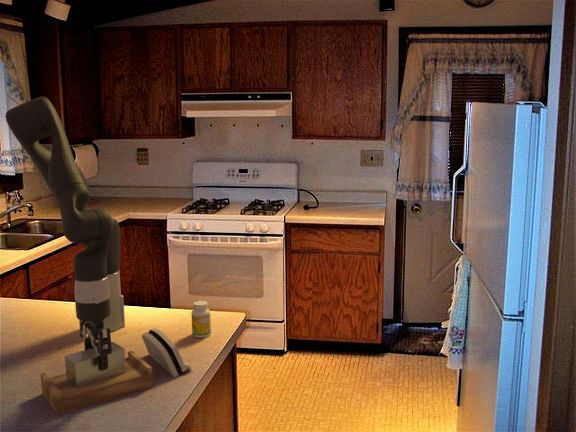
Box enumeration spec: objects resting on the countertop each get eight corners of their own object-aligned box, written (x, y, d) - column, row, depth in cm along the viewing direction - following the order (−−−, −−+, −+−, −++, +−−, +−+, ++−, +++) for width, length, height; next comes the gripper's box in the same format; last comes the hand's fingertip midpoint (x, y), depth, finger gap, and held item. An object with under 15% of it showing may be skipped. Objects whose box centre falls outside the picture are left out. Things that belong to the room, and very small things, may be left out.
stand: (42, 393, 142) (40, 373, 141) (132, 369, 155) (131, 350, 154) (57, 415, 132) (55, 393, 131) (152, 387, 145) (151, 367, 144)
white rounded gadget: (193, 372, 153) (179, 339, 149) (176, 382, 151) (162, 349, 147) (166, 349, 167) (152, 319, 163) (150, 358, 165) (137, 328, 161)
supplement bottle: (213, 336, 176) (212, 304, 174) (194, 339, 174) (193, 307, 172) (208, 330, 181) (207, 298, 179) (190, 332, 179) (189, 301, 177)
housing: (66, 380, 141) (64, 355, 140) (114, 365, 149) (113, 341, 148) (76, 388, 137) (74, 363, 136) (125, 372, 145) (124, 348, 144)
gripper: (65, 291, 143) (70, 357, 146) (86, 308, 131) (91, 378, 134) (97, 285, 147) (101, 349, 150) (120, 301, 136) (124, 369, 139)
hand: (96, 363), depth 142 cm, fingers open, 8 cm apart
